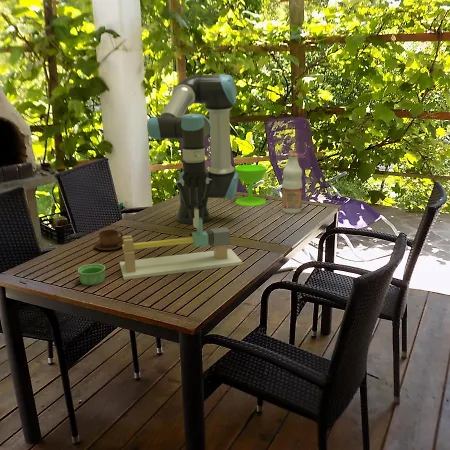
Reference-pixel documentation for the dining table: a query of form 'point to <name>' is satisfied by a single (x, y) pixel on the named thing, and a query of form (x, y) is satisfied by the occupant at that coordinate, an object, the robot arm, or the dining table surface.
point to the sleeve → (200, 235)
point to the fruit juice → (292, 186)
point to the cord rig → (178, 256)
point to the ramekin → (92, 274)
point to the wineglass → (250, 183)
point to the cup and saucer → (109, 240)
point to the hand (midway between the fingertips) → (196, 226)
